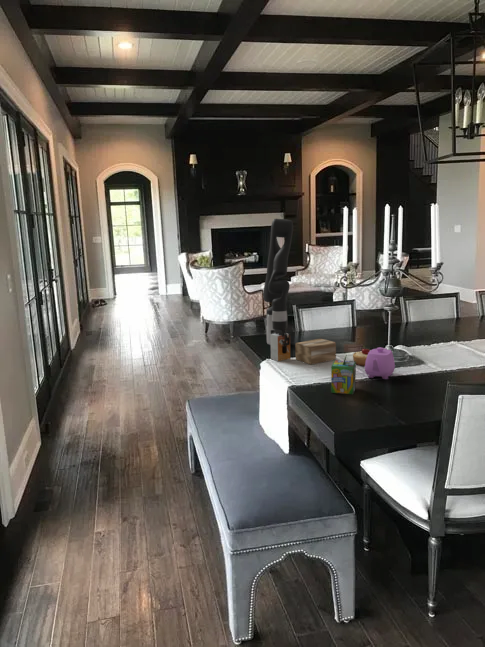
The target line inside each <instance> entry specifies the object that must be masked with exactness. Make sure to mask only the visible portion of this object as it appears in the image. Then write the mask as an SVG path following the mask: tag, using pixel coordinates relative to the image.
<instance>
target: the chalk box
mask: <svg viewBox="0 0 485 647" xmlns="http://www.w3.org/2000/svg"><path fill="white" fill-rule="evenodd" d="M346 359H347V354H345V357H344V360H341V359H340V360H333V362H332V364H331V370H330V371H331V373H330V374H331V376H330V378H331V379H330V380H331V382H330V386H331V387H330V393H331V394H342V395H346V394H347V395H354V393H355V390H356V379H357V378H356V377H357V376H356V373H357V369H356V368H357V367H356V366H357V364H356V361H354V360H346Z"/></svg>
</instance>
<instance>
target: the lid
mask: <svg viewBox="0 0 485 647" xmlns="http://www.w3.org/2000/svg"><path fill="white" fill-rule="evenodd" d="M295 344H297V345H300V346H303V347H307V348H315V347H320V346H326V345H331V344H336V341H332V340H328V339H323V338H322V337H321V338H315V339H310V340H309V339H308V340H304V341H301V342H295Z"/></svg>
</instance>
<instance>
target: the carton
mask: <svg viewBox="0 0 485 647" xmlns="http://www.w3.org/2000/svg"><path fill="white" fill-rule="evenodd" d="M294 348H295V351H294V352H295V354H294V355H295V361H298V362H301V363H303V362H304V364H307V365H315V364H321V363H326V362H330V361H334V360H335V359H337V344H336V343H335V344H331V345H326V346H320V347H315V348H307V347H303V346H300V345H297V344H296V343H295V346H294Z"/></svg>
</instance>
